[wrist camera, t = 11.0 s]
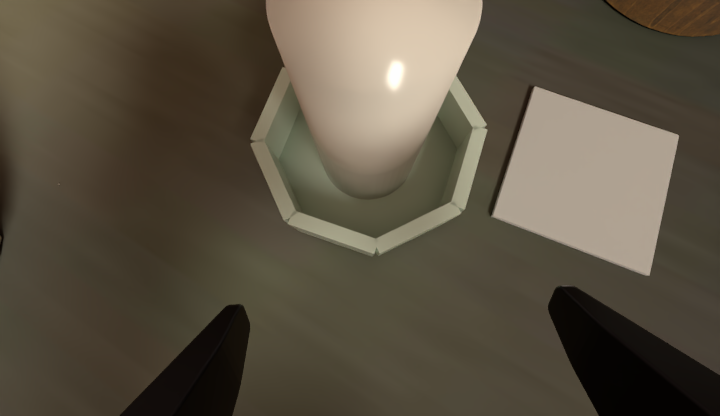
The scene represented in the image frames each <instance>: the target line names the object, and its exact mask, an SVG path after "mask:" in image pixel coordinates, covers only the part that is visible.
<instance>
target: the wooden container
mask: <svg viewBox="0 0 720 416" xmlns="http://www.w3.org/2000/svg"><path fill="white" fill-rule="evenodd" d="M606 1H607V2H608V3H609V4H610V5H611V6H612V7H614V8H615V9H616V10H618V11H619V12H620V13H622V14H623V15H625V16H626V17H628V18H630V19H631V20H633V21H635V22H637V23H639V24H641V25H644V26H646V27H648V28H651V29H654V30H657V31H660V32H664V33H668V34H673V35H680V36H710V35H717V34H720V0H606Z"/></svg>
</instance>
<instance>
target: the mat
mask: <svg viewBox="0 0 720 416" xmlns="http://www.w3.org/2000/svg"><path fill="white" fill-rule="evenodd" d="M678 138H679V135H677V134H674V133H671V132H668V131H665V130H662V129H659V128H656V127H653V126H650V125H647V124H644V123H641V122H638V121H635V120H632V119H629V118H627V117H624V116H621V115H618V114H615V113H612V112H609V111H606V110H603V109H600V108H597V107H594V106H591V105H588V104H585V103H582V102H579V101H576V100H573V99H571V98H568V97H565V96H562V95H559V94H556V93H553V92H550V91H547V90H544V89H541V88H538V87H534V88H533V89H532V92H531V95H530V98H529V101H528V104H527V108H526V111H525V114H524V117H523V120H522V123H521V126H520V129H519V132H518V135H517V138H516V141H515V144H514V147H513V151H512V154H511V157H510V160H509V163H508V166H507V169H506V172H505V175H504V178H503V181H502V184H501V187H500V190H499V194H498V197H497V200H496V203H495V206H494V209H493V212H492V215H491V217H494V218H496V219H499V220H501V221H504V222H507V223H509V224H512V225H514V226H517V227H520V228H522V229H525V230H528V231H530V232H533V233H535V234H538V235H541V236H543V237H546V238H548V239H551V240H554V241H556V242H559V243H561V244H564V245H567V246H569V247H572V248H575V249H577V250H580V251H582V252H585V253H588V254H590V255H593V256H595V257H598V258H601V259H603V260H606V261H609V262H611V263H614V264H616V265H619V266H622V267H624V268H627V269H629V270H632V271H635V272H637V273H640V274H642V275H648V276H649V275H650V270H651V265H652V261H653V256H654V251H655V247H656V242H657V237H658V233H659V228H660V223H661V218H662V214H663V209H664V204H665V200H666V195H667V190H668V185H669V181H670V176H671V171H672V167H673V162H674V157H675V153H676V148H677V143H678Z"/></svg>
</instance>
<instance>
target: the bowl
mask: <svg viewBox="0 0 720 416" xmlns="http://www.w3.org/2000/svg"><path fill="white" fill-rule="evenodd" d="M486 125H487V124H486V123H485V121H484V120H483V118H482V116H481V115H480V113H479V112H478V110H477V108H476V107H475V105H474V104H473V102H472V100H471V99H470V97H469V96H468V94H467V92H466V91H465V89H464V87H463V86H462V84H461V83H460V81H459V79H458V78H457V76H455V78H454V80H453V82H452V84H451V87H450V89H449V91H448V93H447V95H446V97H445V99H444V101H443V103H442V106H441V108H440V110H439V112H438V114H437V116H436V118H435V120H434V123H433V125H432V127H431V129H430V131H429V133H428V135H427V137H426V139H425V142H424V144H423V146H422V148H421V150H420V152H419V154H418V156H417V159H416V161H415V163H414V165H413V167H412V169H411V171H410V173H409V175H408V177H407V179H406V180H405V182H404V183H403V184H402V185H401V186H400V187H399V188H398V189H397V190H396V191H394V192H393V193H391V194H389V195H387V196H385V197H382V198H378V199H370V200H365V199H358V198H354V197H351V196H349V195H347V194H345V193H343V192H342V191H340V190H339V189H338V188H336V187H335V186H334V184H333V183H332V182H331V181H330V179H329V178H328V176H327V174H326V172H325V169H324V166H323V164H322V161H321V159H320V156H319V154H318V151H317V148H316V146H315V143H314V141H313V138H312V135H311V133H310V130H309V128H308V125H307V122H306V120H305V117H304V115H303V112H302V109H301V107H300V104H299V102H298V99H297V96H296V94H295V91H294V89H293V86H292V83H291V81H290V78H289V76H288V73H287V70H286V68H284V67H282V69H281V71H280V74H279V76H278V78H277V80H276V82H275V85H274V87H273V89H272V91H271V94H270V96H269V98H268V100H267V103H266V105H265V107H264V109H263V112H262V114H261V116H260V118H259V120H258V123H257V125H256V127H255V129H254V132H253V134H252V136H251V138H250V139H251V141H252V142H253V143H251V144H250V145H251V147H252V149H253V152H254V154H255V156H256V158H257V161H258V163H259V165H260V168H261V170H262V172H263V174H264V177H265V179H266V181H267V184H268V186H269V188H270V190H271V193H272V195H273V197H274V199H275V202H276V204H277V206H278V209H279V211H280V213H281V215H282V218H283V220H284V221H285V222H287V223H288V225H290V226H292V227H293V228H295V229H297V230H298V231H300V232H303V233H306V234H309V235H312V236H315V237H318V238H320V239H323V240H326V241H329V242H331V243H334V244H336V245H340V246H343V247H346V248H349V249H352V250H355V251H358V252H360V253H363V254H366V255H369V256H372V257H373V255H374V253H376V255H377V256H379V255H381V254H383V253H385V252H387V251H389V250H391V249H393V248H395V247H397V246H399V245H401V244H403V243H405V242H407V241H410V240H412V239H414V238H416V237H418V236H420V235H422V234H424V233H426V232H428V231H430V230H432V229H434V228H436V227H438V226H440V225H442V224H444V223H446V222H448V221H449V220H451V219H453V218H455V217H456V216H458V215H460V214H461V211H463V210H465V207H466V203H467V200H468V196H469V193H470V189H471V186H472V182H473V179H474V175H475V172H476V168H477V165H478V161H479V158H480V154H481V151H482V147H483V143H484V140H485V136H486V133H487V129H484V127H485V126H486Z"/></svg>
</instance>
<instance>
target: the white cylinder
mask: <svg viewBox="0 0 720 416" xmlns="http://www.w3.org/2000/svg"><path fill="white" fill-rule="evenodd" d="M266 11H267V18H268V22H269V25H270V28H271V32H272V34H273V37H274V39H275V42H276V45H277V47H278V50H279V52H280V55H281V57H282V60H283V63H284V65H285V68H286V70H287V73H288V76H289V78H290V81H291V83H292V86H293V89H294V91H295V94H296V96H297V99H298V102H299V104H300V107H301V109H302V112H303V115H304V117H305V120H306V122H307V125H308V128H309V130H310V133H311V135H312V138H313V141H314V143H315V146H316V148H317V151H318V154H319V156H320V159H321V161H322V164H323V166H324V169H325V172H326V174H327V176H328V178H329V179H330V181H331V182H332V183H333V184H334V186H335V187H336V188H338V189H339V190H340V191H342V192H343V193H345V194H347V195H349V196H351V197H354V198H358V199H365V200H370V199H378V198H382V197H385V196H387V195H389V194H391V193H393V192H394V191H396V190H397V189H398V188H399V187H400V186H401V185H402V184H403V183H404V182H405V180H406V179H407V177H408V175H409V173H410V171H411V169H412V167H413V165H414V163H415V161H416V159H417V156H418V154H419V152H420V150H421V148H422V146H423V144H424V142H425V139H426V137H427V135H428V133H429V131H430V129H431V127H432V125H433V123H434V120H435V118H436V116H437V114H438V112H439V110H440V108H441V106H442V103H443V101H444V99H445V97H446V95H447V93H448V91H449V89H450V87H451V84H452V82H453V80H454V78H455V76H456V74H457V72H458V70H459V68H460V65H461V63H462V61H463V59H464V57H465V55H466V53H467V51H468V48H469V46H470V44H471V42H472V40H473V38H474V36H475V34H476V32H477V29H478V25H479V22H480V19H481V12H482V0H266Z"/></svg>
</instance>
